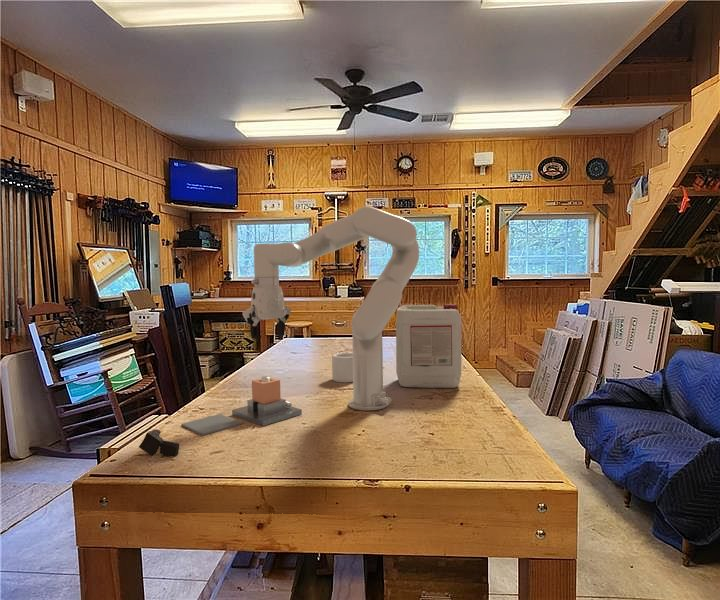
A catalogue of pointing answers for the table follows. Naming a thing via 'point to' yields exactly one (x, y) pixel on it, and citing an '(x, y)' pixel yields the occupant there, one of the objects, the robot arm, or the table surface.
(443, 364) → the jerry can
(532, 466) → the table surface
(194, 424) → the mat
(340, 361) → the mug
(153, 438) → the lighter
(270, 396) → the collar
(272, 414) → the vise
